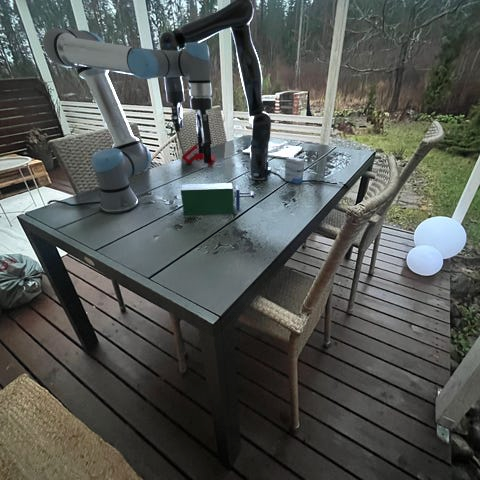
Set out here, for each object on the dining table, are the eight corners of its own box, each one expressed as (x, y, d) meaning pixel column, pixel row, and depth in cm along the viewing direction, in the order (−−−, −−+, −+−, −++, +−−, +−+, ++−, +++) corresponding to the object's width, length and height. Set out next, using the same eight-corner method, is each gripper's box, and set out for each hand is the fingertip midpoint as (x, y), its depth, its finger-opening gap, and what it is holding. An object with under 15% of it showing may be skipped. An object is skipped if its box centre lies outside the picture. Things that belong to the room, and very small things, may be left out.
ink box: (302, 181, 142) (305, 159, 136) (297, 184, 139) (300, 161, 133) (289, 177, 147) (291, 156, 141) (284, 180, 144) (285, 158, 138)
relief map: (291, 159, 177) (291, 151, 174) (243, 153, 190) (243, 145, 187) (302, 149, 197) (303, 142, 194) (258, 144, 211) (258, 137, 208)
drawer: (253, 205, 117) (253, 185, 112) (254, 210, 113) (254, 189, 108) (194, 207, 116) (191, 186, 111) (193, 212, 112) (190, 191, 107)
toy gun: (219, 159, 165) (203, 138, 161) (216, 161, 162) (200, 139, 158) (199, 174, 175) (184, 155, 171) (196, 176, 172) (181, 156, 168)
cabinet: (232, 207, 118) (232, 183, 112) (233, 213, 113) (232, 188, 107) (185, 208, 117) (182, 184, 111) (183, 215, 112) (180, 190, 106)
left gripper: (186, 94, 104) (191, 150, 116) (194, 101, 84) (199, 168, 96) (205, 93, 106) (208, 148, 118) (218, 100, 86) (220, 166, 97)
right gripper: (181, 91, 112) (185, 132, 120) (185, 88, 123) (189, 126, 132) (162, 91, 111) (168, 133, 120) (168, 89, 123) (173, 127, 132)
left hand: (204, 157), depth 107 cm, fingers open, 13 cm apart
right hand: (179, 129), depth 126 cm, fingers open, 8 cm apart
